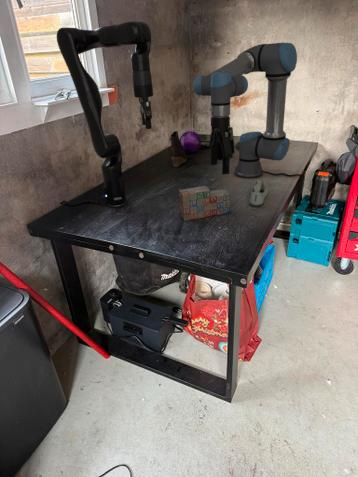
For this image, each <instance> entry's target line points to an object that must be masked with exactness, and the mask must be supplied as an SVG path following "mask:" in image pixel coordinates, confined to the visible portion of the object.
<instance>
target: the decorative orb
mask: <svg viewBox="0 0 358 477" xmlns="http://www.w3.org/2000/svg"><path fill="white" fill-rule="evenodd" d="M201 140H202V139H201V137H200V135H199V134H198V133H197V132H195V131H192V130H187V131H185V132H184V133H182V135H181V136H180V137H179V141H180V144H181V148H182V151H184V152H185V153H186V154H194V153H196V152H197V151H198V150H199V149H201V148H200V145H201Z"/></svg>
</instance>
